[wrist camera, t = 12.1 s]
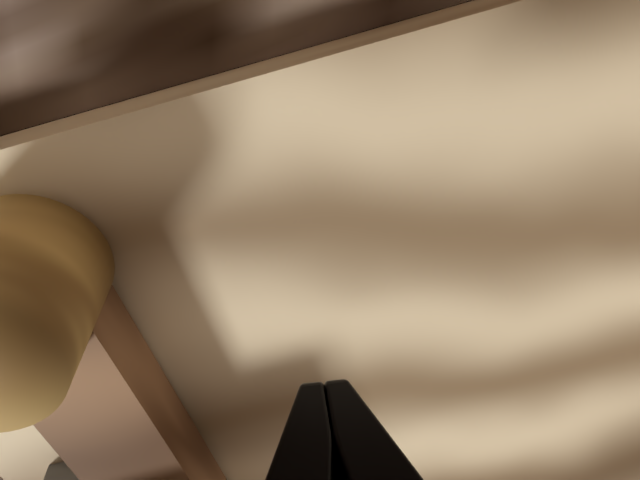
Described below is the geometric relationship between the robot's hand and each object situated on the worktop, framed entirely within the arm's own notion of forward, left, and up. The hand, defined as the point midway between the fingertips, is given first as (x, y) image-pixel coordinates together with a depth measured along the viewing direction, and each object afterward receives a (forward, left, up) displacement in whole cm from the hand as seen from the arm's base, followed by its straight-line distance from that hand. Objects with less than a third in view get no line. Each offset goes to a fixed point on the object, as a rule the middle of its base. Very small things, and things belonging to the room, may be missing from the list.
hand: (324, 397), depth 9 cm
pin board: (-8, +1, -8) cm, 11 cm away
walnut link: (-6, +7, -6) cm, 11 cm away
